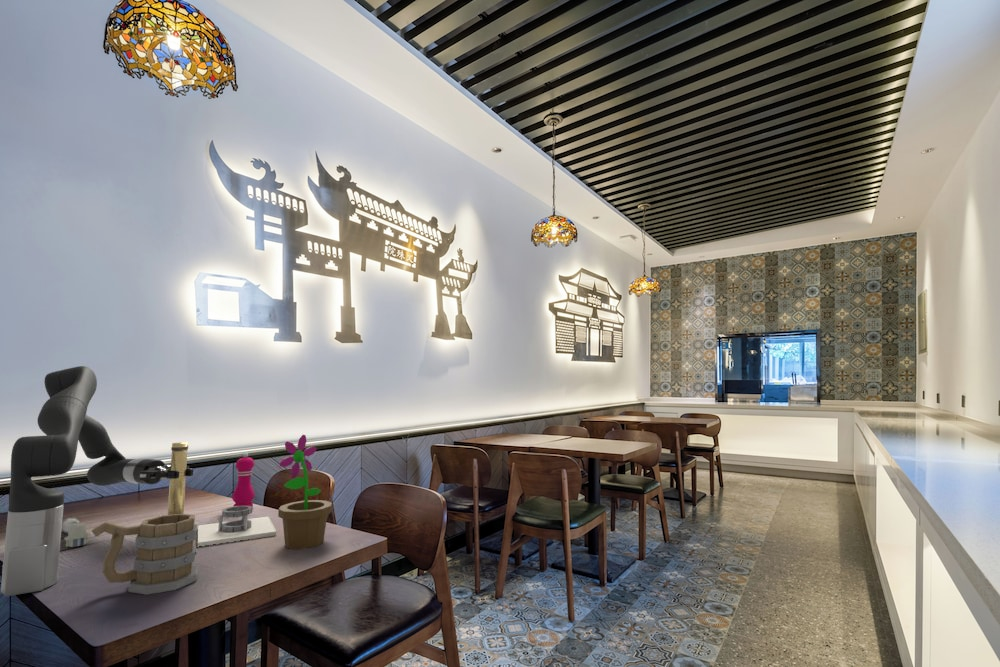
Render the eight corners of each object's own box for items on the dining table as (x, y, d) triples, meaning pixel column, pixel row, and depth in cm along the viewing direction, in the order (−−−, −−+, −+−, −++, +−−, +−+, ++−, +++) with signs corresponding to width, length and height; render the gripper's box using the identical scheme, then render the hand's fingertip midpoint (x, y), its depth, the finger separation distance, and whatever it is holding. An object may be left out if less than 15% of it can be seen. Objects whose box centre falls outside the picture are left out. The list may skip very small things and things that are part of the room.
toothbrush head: (80, 515, 157) (91, 519, 140) (79, 538, 156) (90, 543, 139) (58, 519, 153) (67, 522, 136) (56, 541, 152) (65, 548, 135)
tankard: (198, 568, 121) (202, 505, 122) (195, 587, 110) (199, 517, 111) (95, 584, 111) (100, 516, 113) (79, 606, 100) (85, 530, 102)
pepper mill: (229, 511, 175) (232, 454, 177) (234, 507, 182) (237, 452, 184) (251, 510, 177) (254, 453, 179) (255, 505, 184) (258, 451, 186)
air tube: (183, 518, 147) (188, 443, 149) (166, 520, 145) (171, 444, 147) (184, 515, 150) (188, 441, 153) (167, 517, 148) (172, 442, 151)
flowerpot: (309, 532, 150) (312, 432, 153) (342, 539, 142) (344, 434, 146) (265, 546, 138) (270, 436, 141) (299, 554, 130) (303, 439, 133)
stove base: (276, 535, 147) (277, 511, 148) (197, 547, 137) (199, 521, 138) (268, 520, 164) (269, 498, 165) (197, 529, 154) (199, 506, 155)
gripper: (121, 462, 147) (163, 464, 142) (167, 456, 161) (206, 457, 155) (119, 487, 147) (161, 490, 141) (165, 479, 160) (205, 482, 154)
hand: (185, 473), depth 148 cm, fingers closed on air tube, 4 cm apart
